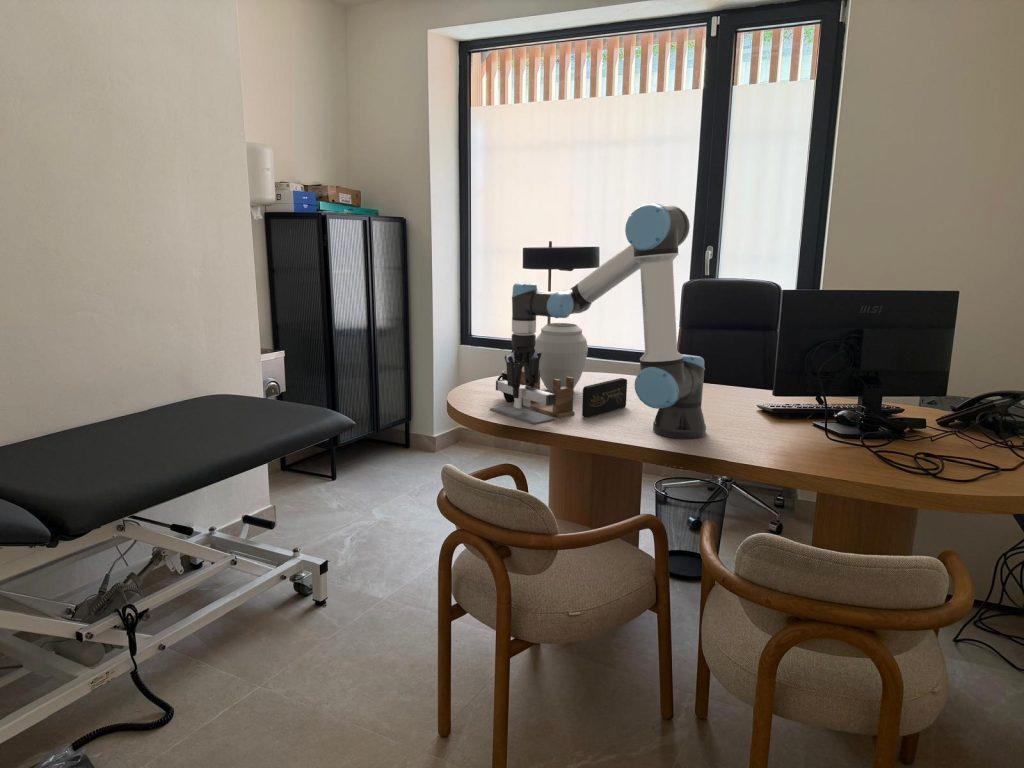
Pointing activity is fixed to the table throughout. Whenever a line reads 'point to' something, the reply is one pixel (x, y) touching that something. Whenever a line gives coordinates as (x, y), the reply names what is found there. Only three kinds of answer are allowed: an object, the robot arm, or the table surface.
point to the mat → (523, 414)
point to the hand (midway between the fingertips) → (522, 406)
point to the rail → (528, 393)
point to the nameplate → (604, 397)
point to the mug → (507, 396)
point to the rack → (562, 398)
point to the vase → (561, 353)
